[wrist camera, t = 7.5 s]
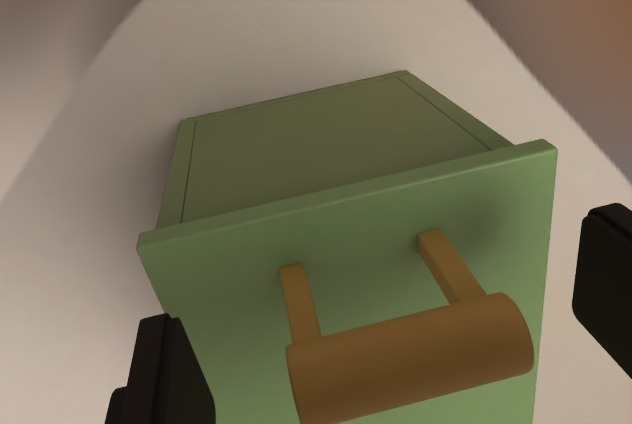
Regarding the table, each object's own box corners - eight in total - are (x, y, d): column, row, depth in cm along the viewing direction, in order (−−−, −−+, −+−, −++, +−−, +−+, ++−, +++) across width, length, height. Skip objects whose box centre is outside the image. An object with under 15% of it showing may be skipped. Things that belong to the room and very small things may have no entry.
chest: (180, 119, 25) (150, 246, 14) (406, 69, 25) (532, 155, 15) (247, 324, 31) (259, 510, 21) (424, 280, 32) (519, 439, 22)
